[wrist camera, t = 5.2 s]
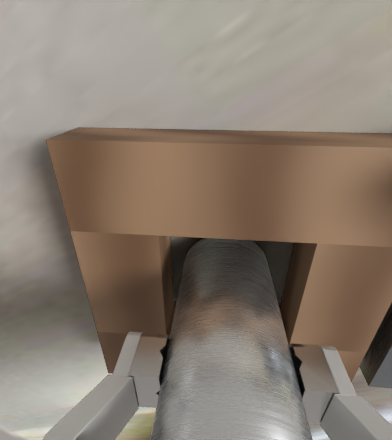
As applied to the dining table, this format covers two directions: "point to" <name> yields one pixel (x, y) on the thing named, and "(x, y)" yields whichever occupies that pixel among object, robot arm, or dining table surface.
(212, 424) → the steel cylinder
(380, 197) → the socket block
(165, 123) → the dining table surface
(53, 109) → the dining table surface
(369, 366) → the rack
